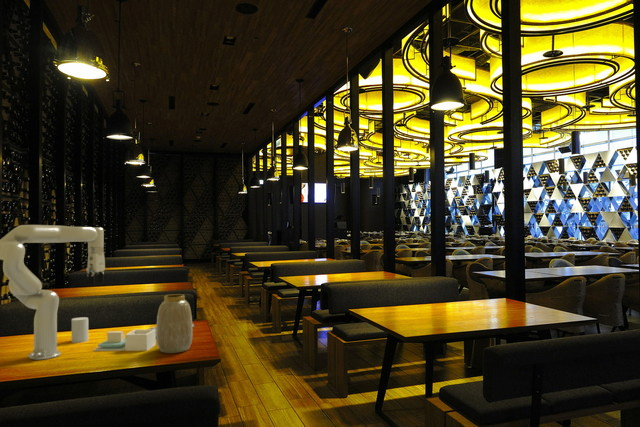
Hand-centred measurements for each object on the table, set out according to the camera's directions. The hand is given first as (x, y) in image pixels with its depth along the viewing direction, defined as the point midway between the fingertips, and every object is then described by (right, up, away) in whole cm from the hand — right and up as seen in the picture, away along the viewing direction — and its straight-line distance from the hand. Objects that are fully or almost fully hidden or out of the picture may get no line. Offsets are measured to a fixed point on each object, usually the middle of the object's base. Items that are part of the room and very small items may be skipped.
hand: (95, 282), depth 246 cm
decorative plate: (+32, -33, +23) cm, 51 cm away
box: (+28, -32, -11) cm, 44 cm away
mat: (+14, -32, -8) cm, 36 cm away
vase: (+47, -32, -15) cm, 59 cm away
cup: (-11, -33, +6) cm, 35 cm away
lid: (+14, -31, -8) cm, 35 cm away
